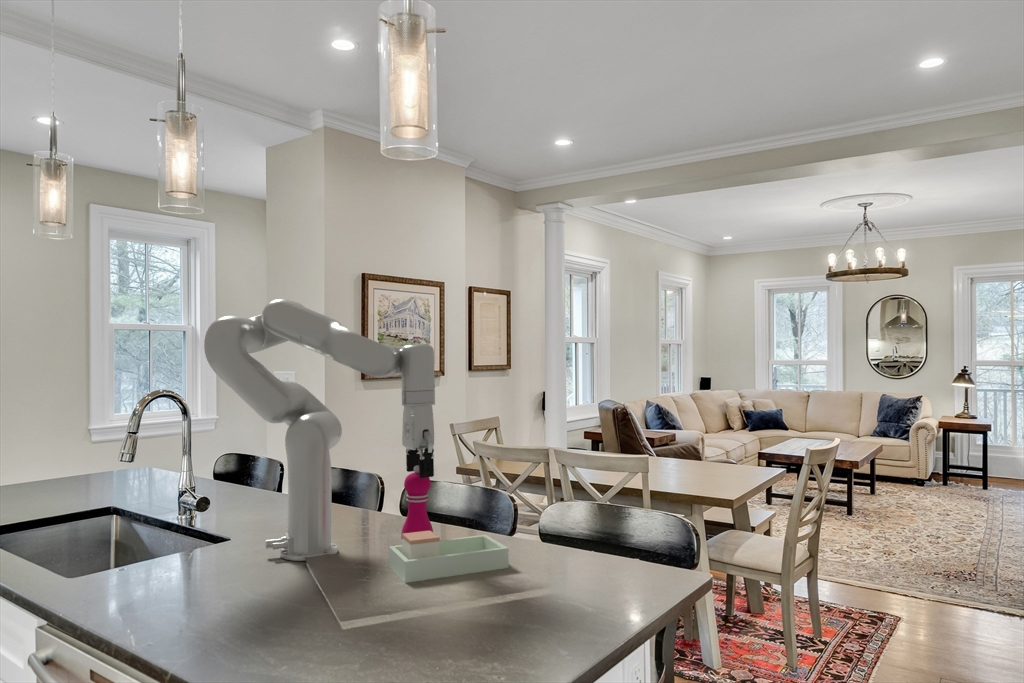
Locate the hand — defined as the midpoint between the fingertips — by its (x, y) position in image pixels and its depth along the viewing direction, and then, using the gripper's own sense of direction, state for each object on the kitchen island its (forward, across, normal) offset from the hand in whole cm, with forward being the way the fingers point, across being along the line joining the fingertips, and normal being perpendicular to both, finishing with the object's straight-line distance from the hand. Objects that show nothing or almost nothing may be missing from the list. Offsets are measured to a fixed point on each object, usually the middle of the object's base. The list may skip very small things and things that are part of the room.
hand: (419, 474), depth 153 cm
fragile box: (+17, +15, -5) cm, 23 cm away
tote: (+18, +15, +1) cm, 23 cm away
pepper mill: (+18, 0, -1) cm, 18 cm away
